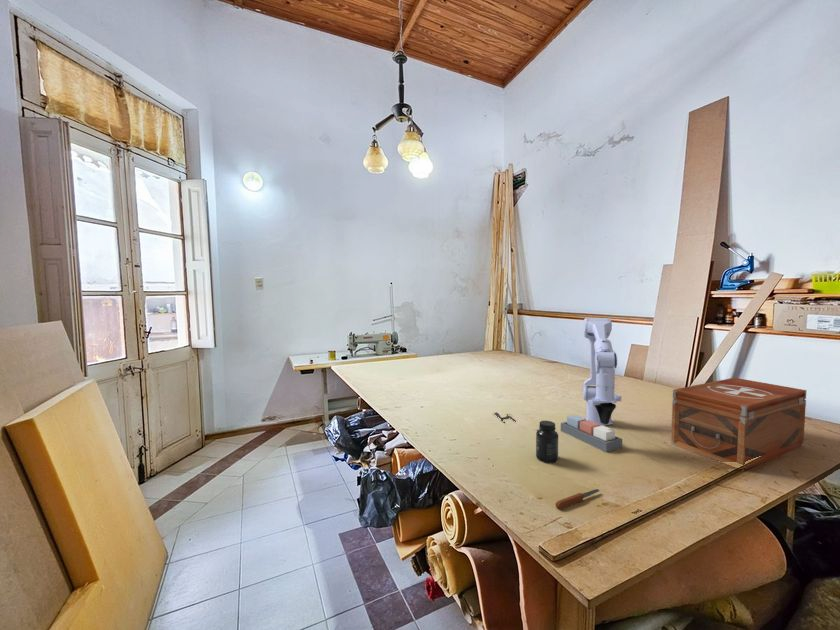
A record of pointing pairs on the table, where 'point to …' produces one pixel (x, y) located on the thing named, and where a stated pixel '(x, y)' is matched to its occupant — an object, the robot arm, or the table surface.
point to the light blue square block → (575, 421)
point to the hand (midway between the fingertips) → (604, 423)
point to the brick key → (588, 426)
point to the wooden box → (738, 420)
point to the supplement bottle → (547, 442)
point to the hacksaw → (504, 417)
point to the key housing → (592, 438)
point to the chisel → (573, 499)
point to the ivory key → (604, 433)
